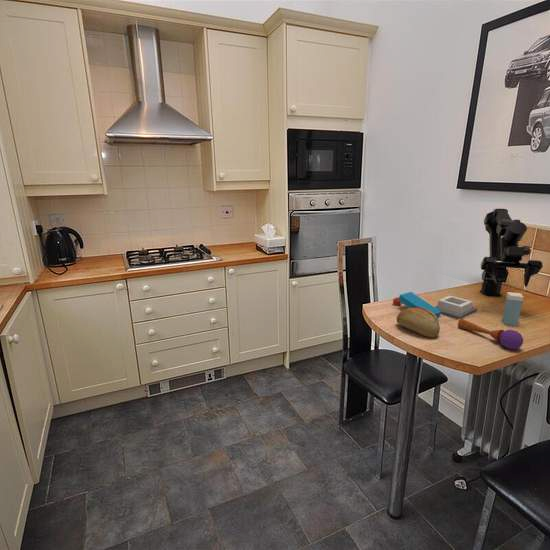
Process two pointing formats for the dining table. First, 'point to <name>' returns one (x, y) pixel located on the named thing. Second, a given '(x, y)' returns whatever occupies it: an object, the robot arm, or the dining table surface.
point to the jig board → (455, 307)
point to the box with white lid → (512, 308)
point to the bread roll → (419, 321)
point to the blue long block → (415, 302)
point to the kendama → (496, 334)
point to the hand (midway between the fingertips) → (511, 285)
